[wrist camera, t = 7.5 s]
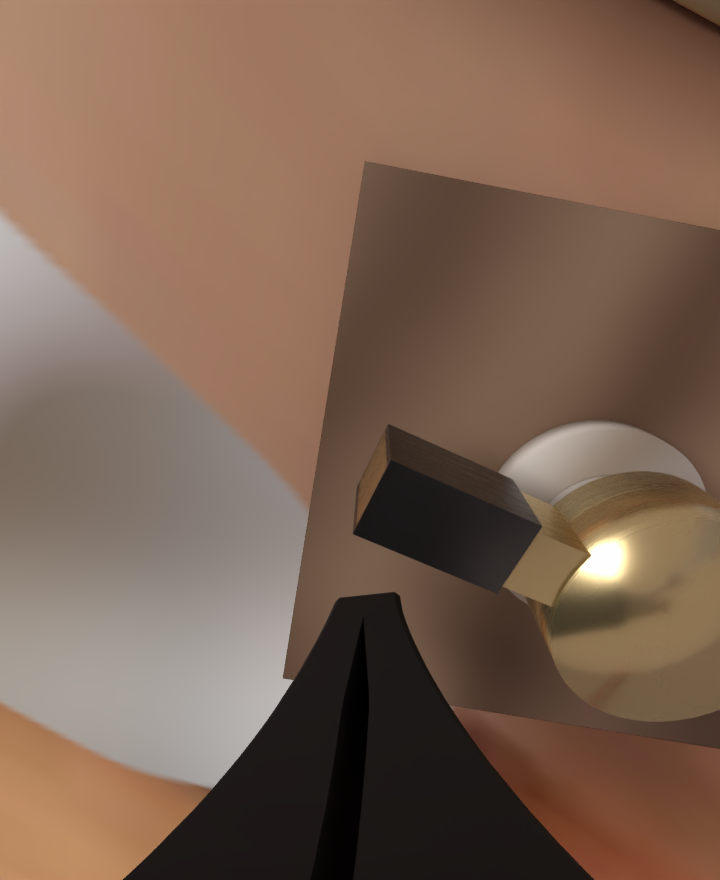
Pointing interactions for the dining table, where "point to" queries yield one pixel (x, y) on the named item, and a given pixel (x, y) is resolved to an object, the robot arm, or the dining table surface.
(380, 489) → the lever handle
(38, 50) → the dining table surface
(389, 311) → the post base
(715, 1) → the skincare box
